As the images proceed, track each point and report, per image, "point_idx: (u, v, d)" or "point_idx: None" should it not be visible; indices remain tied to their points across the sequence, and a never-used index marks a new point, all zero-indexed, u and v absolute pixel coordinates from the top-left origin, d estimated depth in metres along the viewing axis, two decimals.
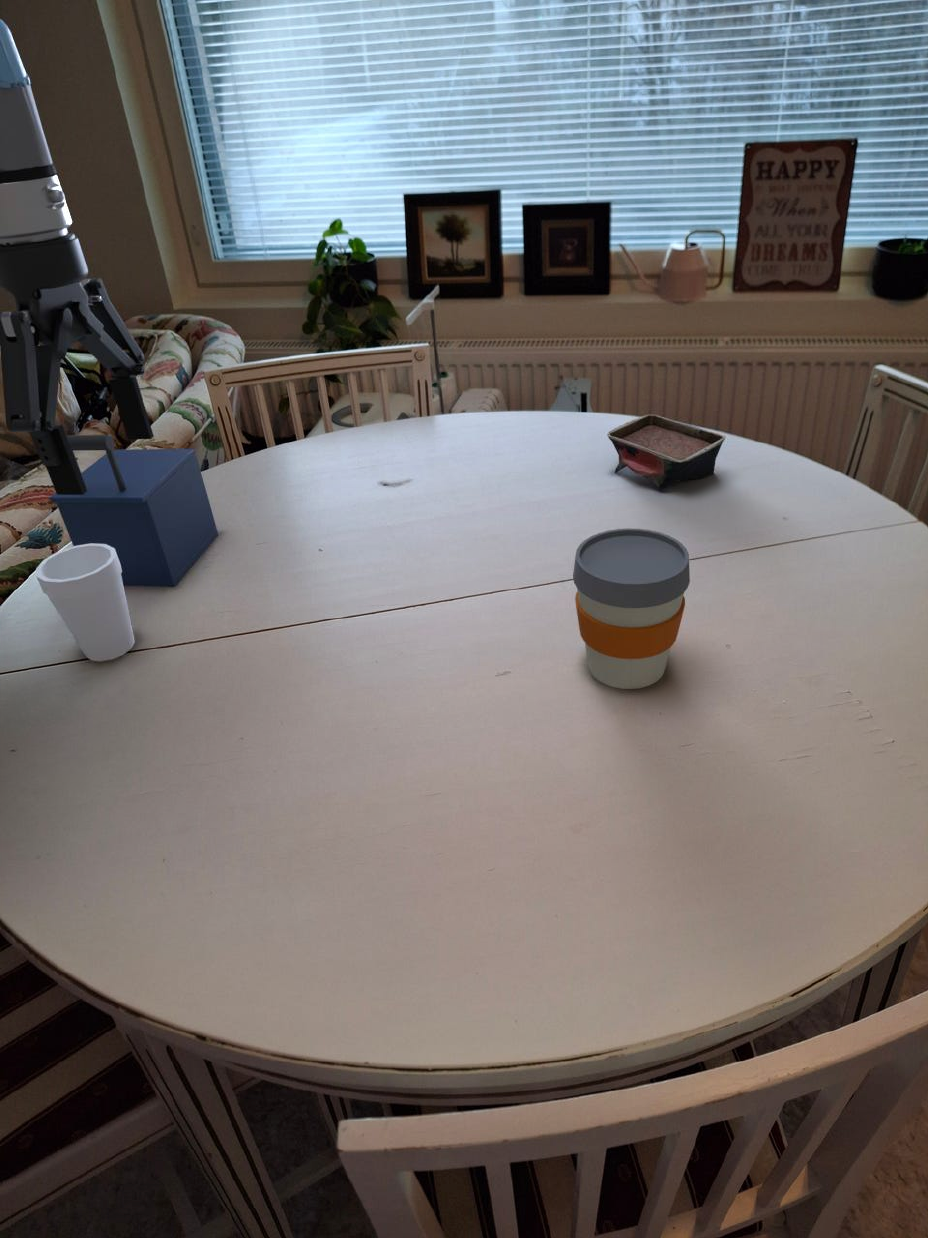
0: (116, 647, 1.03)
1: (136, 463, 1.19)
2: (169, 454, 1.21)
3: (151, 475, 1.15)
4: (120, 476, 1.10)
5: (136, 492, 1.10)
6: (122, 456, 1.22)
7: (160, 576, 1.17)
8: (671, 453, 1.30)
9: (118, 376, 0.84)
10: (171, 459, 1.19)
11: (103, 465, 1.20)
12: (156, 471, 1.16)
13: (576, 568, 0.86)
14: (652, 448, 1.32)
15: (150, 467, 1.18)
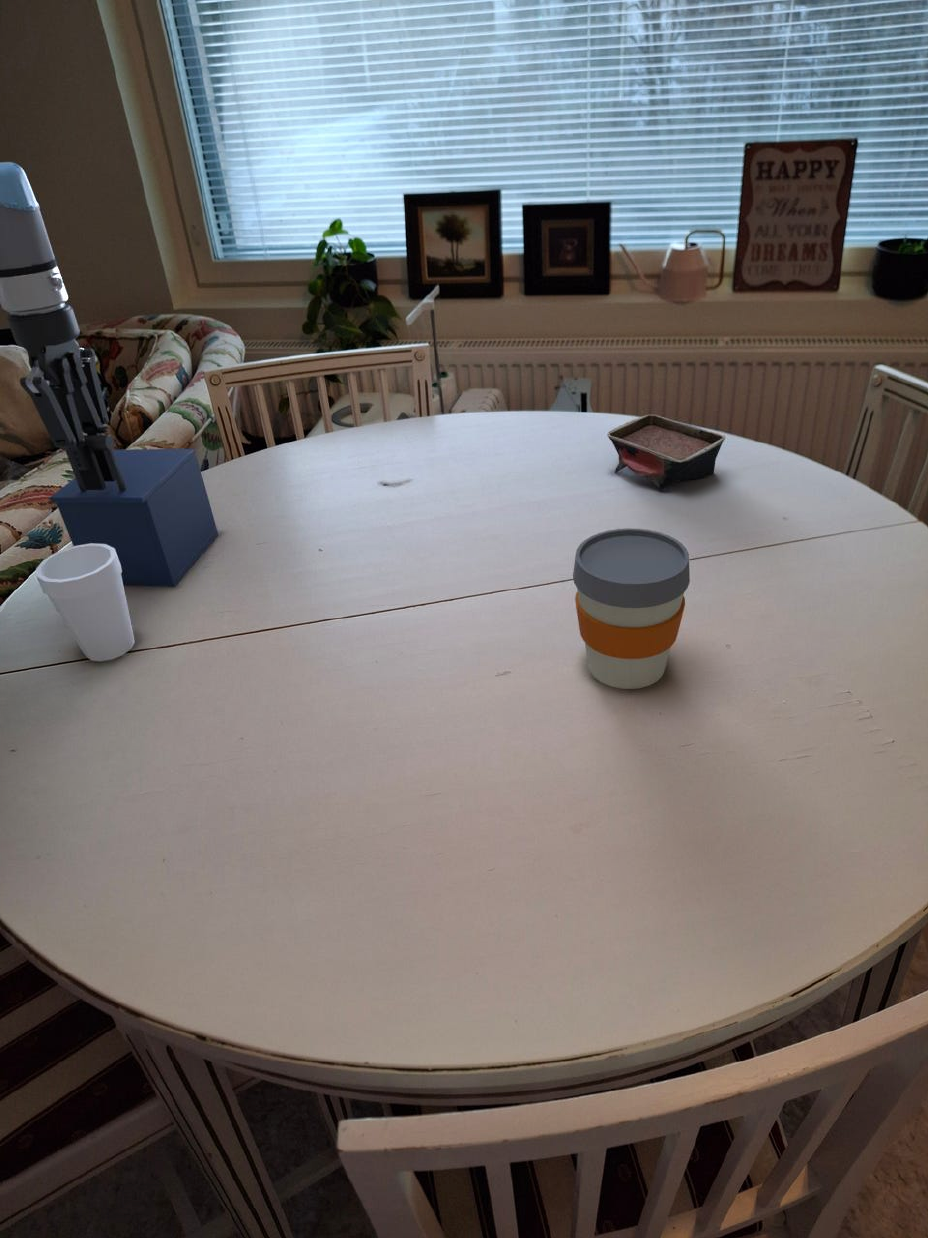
0: (116, 647, 1.03)
1: (136, 463, 1.19)
2: (169, 454, 1.21)
3: (151, 475, 1.15)
4: (120, 476, 1.10)
5: (136, 492, 1.10)
6: (122, 456, 1.22)
7: (160, 576, 1.17)
8: (671, 453, 1.30)
9: (88, 434, 1.09)
10: (171, 459, 1.19)
11: None
12: (156, 471, 1.16)
13: (576, 568, 0.86)
14: (652, 448, 1.32)
15: (150, 467, 1.18)
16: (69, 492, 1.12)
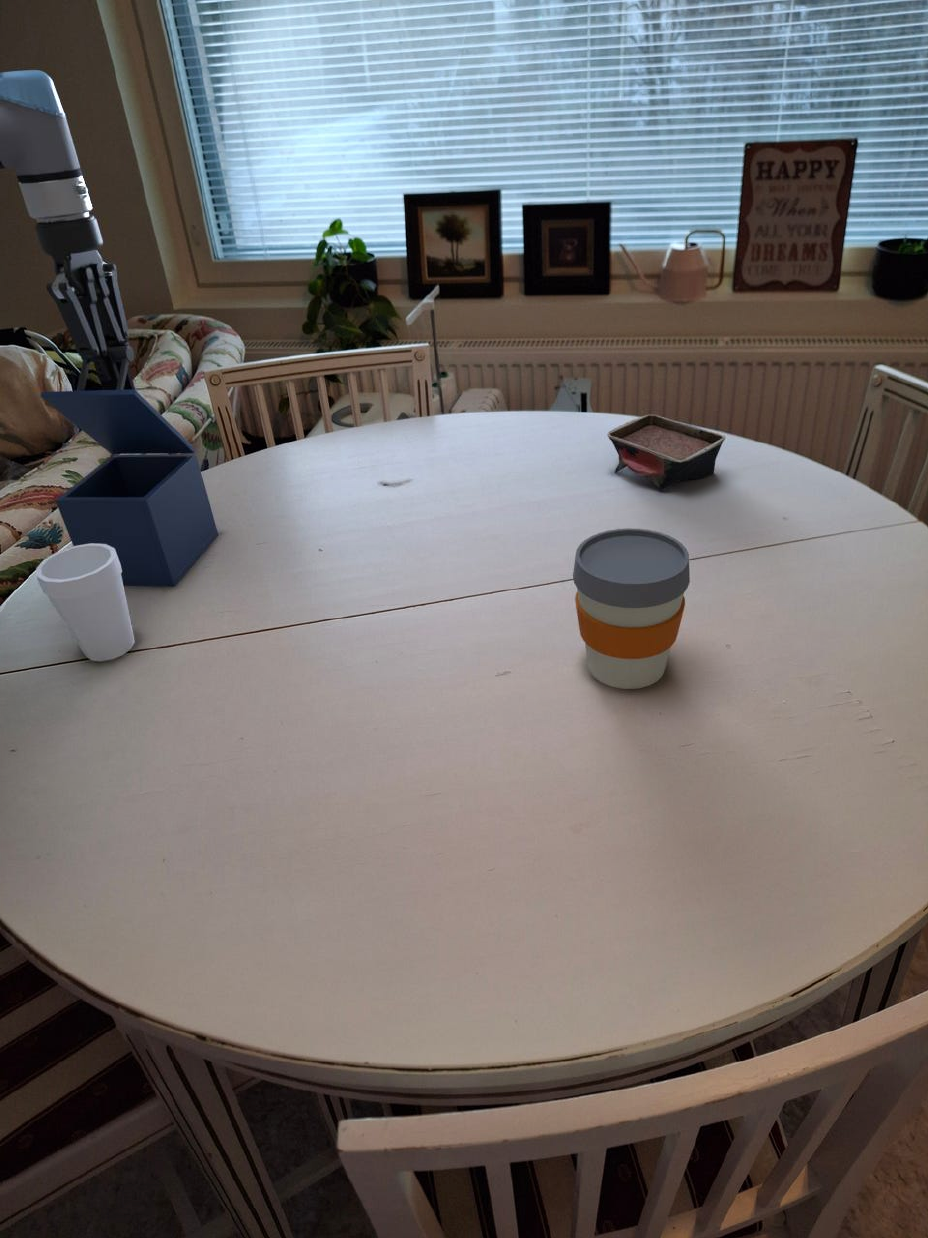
0: (116, 647, 1.03)
1: None
2: None
3: None
4: (122, 384, 1.10)
5: None
6: None
7: (160, 576, 1.17)
8: (671, 453, 1.30)
9: None
10: None
11: None
12: None
13: (576, 568, 0.86)
14: (652, 448, 1.32)
15: None
16: None
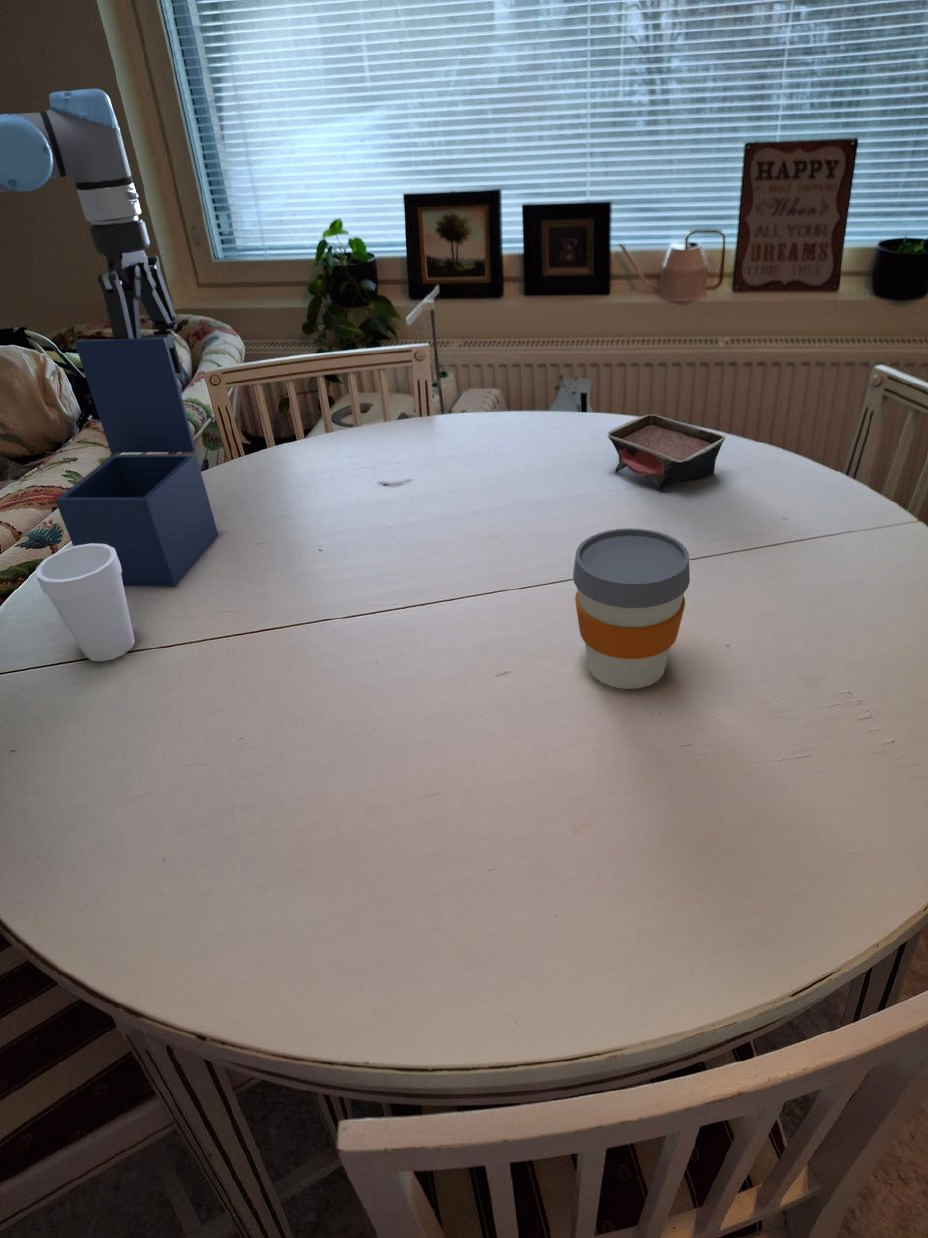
0: (116, 647, 1.03)
1: None
2: None
3: None
4: None
5: None
6: None
7: (160, 576, 1.17)
8: (671, 453, 1.30)
9: (159, 329, 1.26)
10: None
11: None
12: None
13: (576, 568, 0.86)
14: (652, 448, 1.32)
15: None
16: None
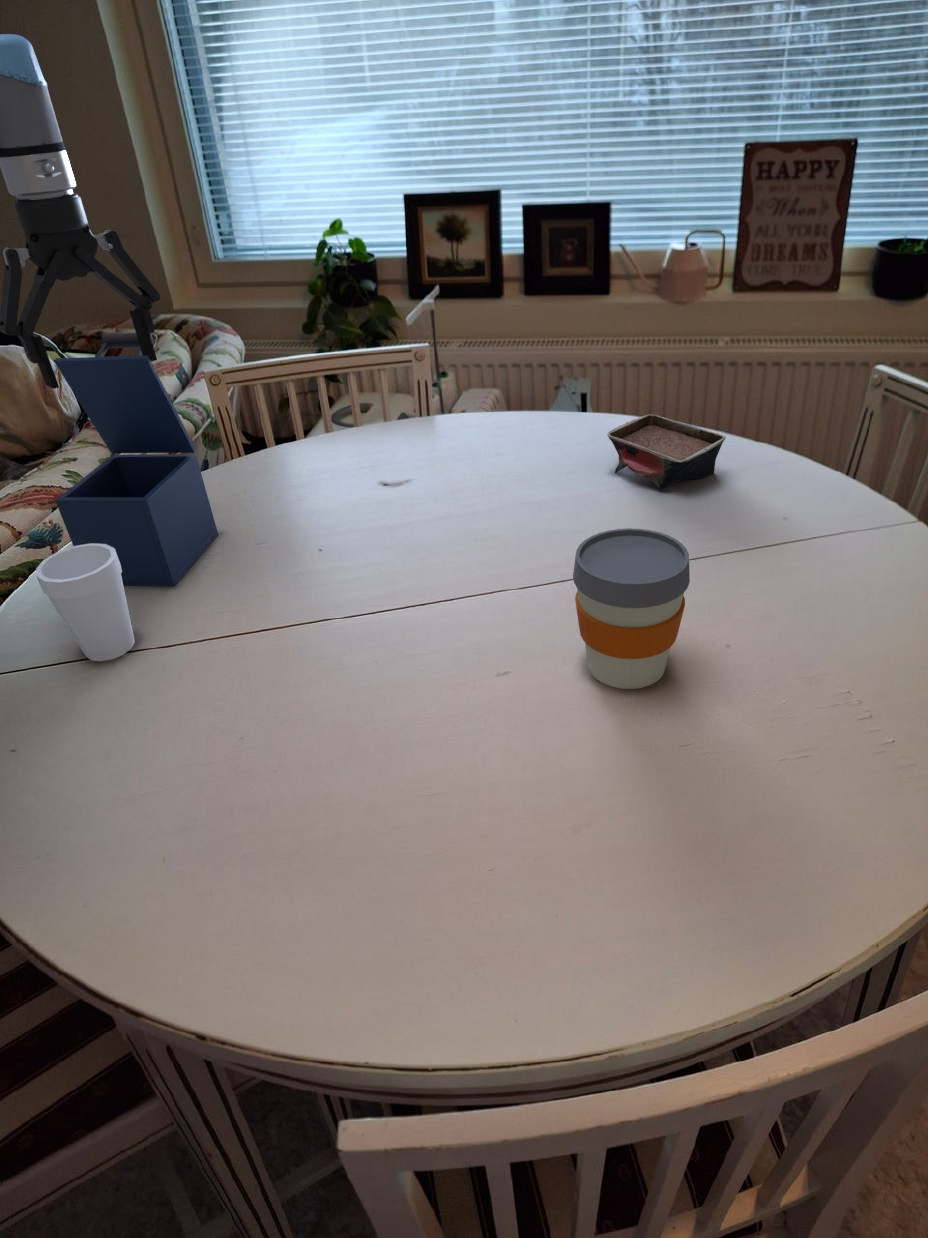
0: (116, 647, 1.03)
1: None
2: None
3: None
4: None
5: None
6: None
7: (160, 576, 1.17)
8: (671, 453, 1.30)
9: (136, 308, 1.08)
10: None
11: None
12: None
13: (576, 568, 0.86)
14: (652, 448, 1.32)
15: None
16: None
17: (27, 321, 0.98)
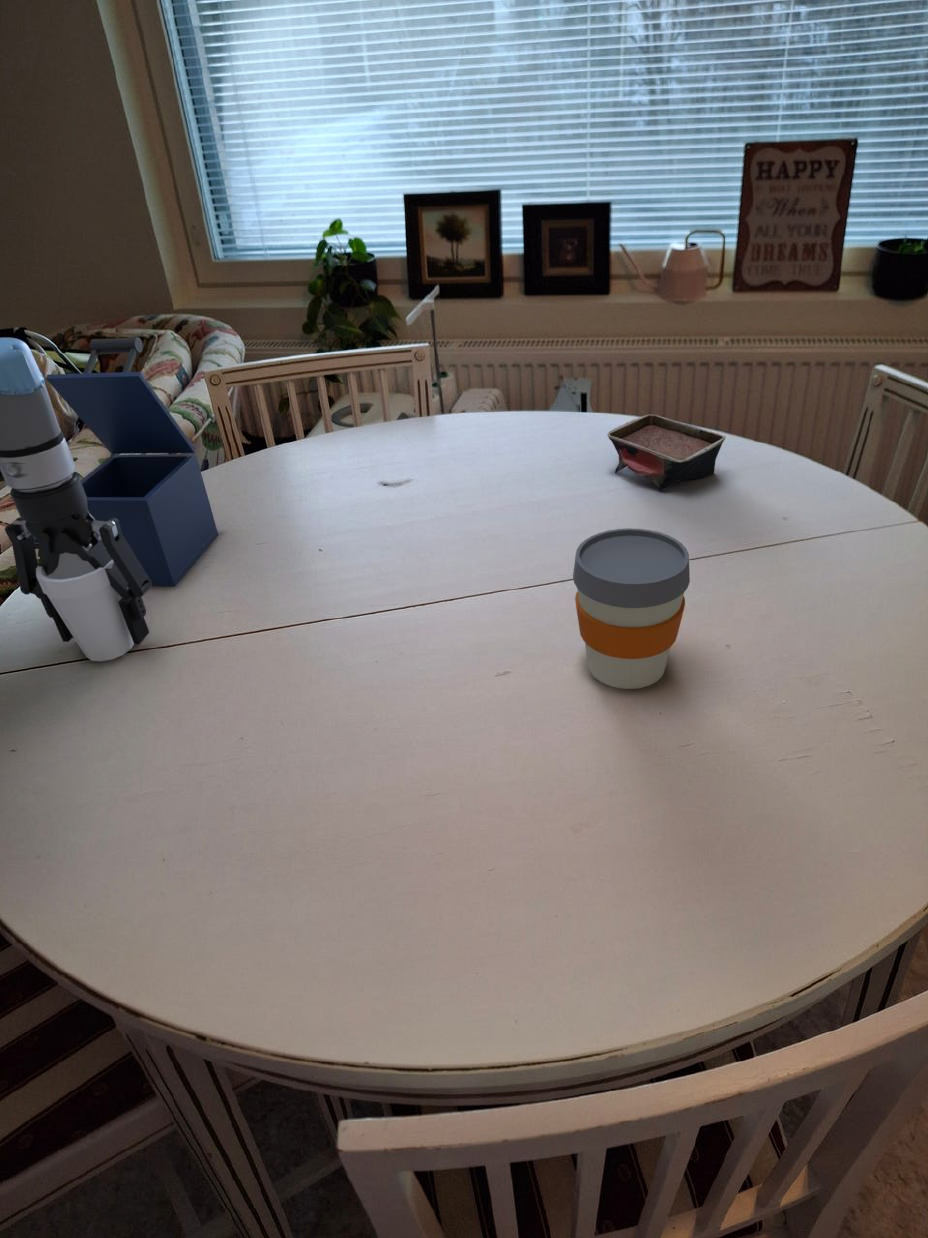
0: (116, 647, 1.03)
1: None
2: None
3: None
4: (128, 371, 1.11)
5: None
6: None
7: (160, 576, 1.17)
8: (671, 453, 1.30)
9: None
10: None
11: None
12: None
13: (576, 568, 0.86)
14: (652, 448, 1.32)
15: None
16: None
17: (37, 586, 1.00)
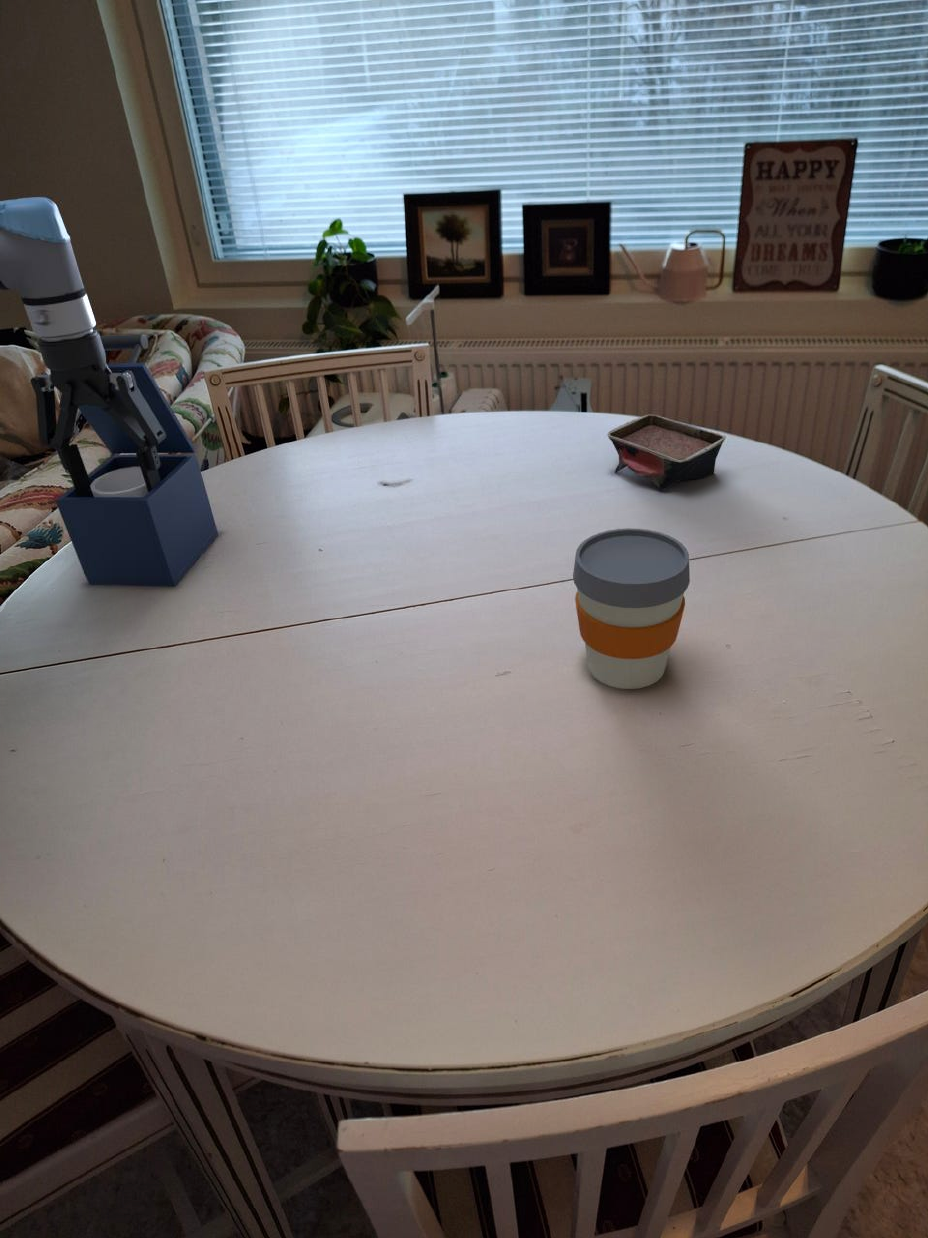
0: None
1: None
2: None
3: None
4: None
5: None
6: None
7: (160, 576, 1.17)
8: (671, 453, 1.30)
9: None
10: None
11: None
12: None
13: (576, 568, 0.86)
14: (652, 448, 1.32)
15: None
16: None
17: (55, 438, 1.11)
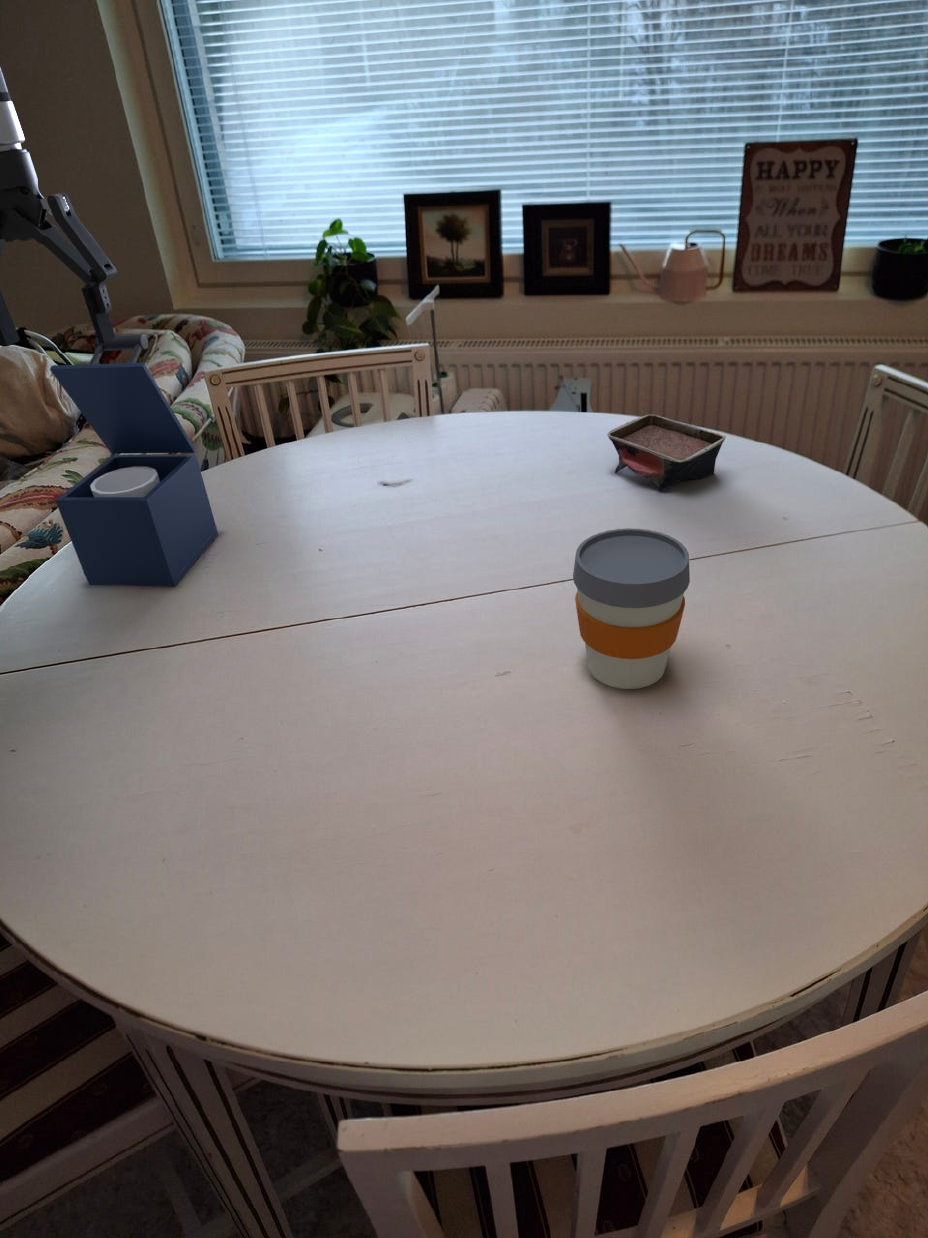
0: None
1: None
2: None
3: None
4: None
5: None
6: None
7: (160, 576, 1.17)
8: (671, 453, 1.30)
9: None
10: None
11: None
12: None
13: (576, 568, 0.86)
14: (652, 448, 1.32)
15: None
16: None
17: None
